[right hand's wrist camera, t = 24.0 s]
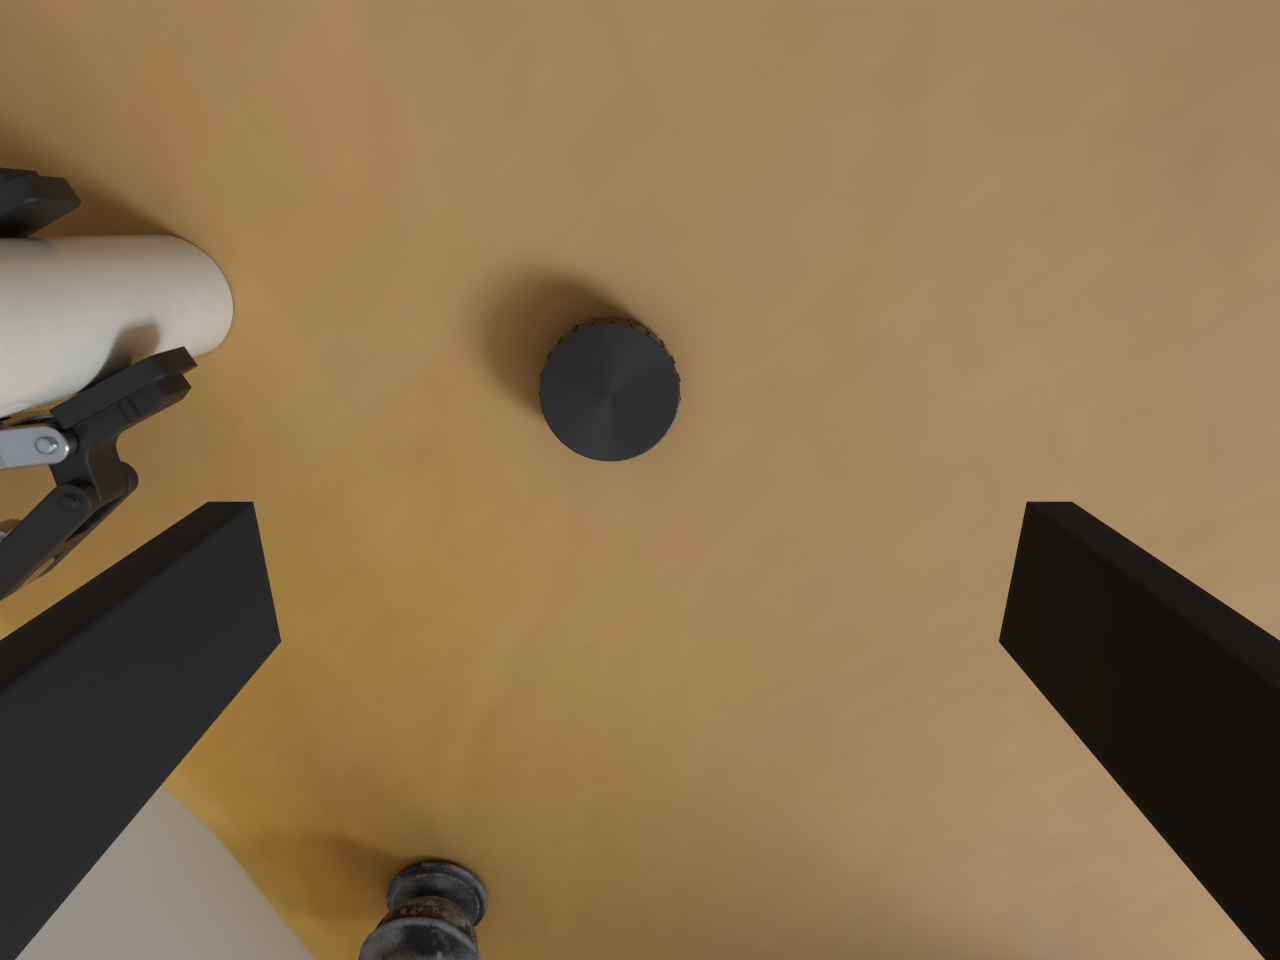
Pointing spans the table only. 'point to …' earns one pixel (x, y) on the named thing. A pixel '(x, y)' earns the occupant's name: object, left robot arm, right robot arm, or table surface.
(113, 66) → the table surface
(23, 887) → the right robot arm
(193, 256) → the jar
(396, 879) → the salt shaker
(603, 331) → the lid
